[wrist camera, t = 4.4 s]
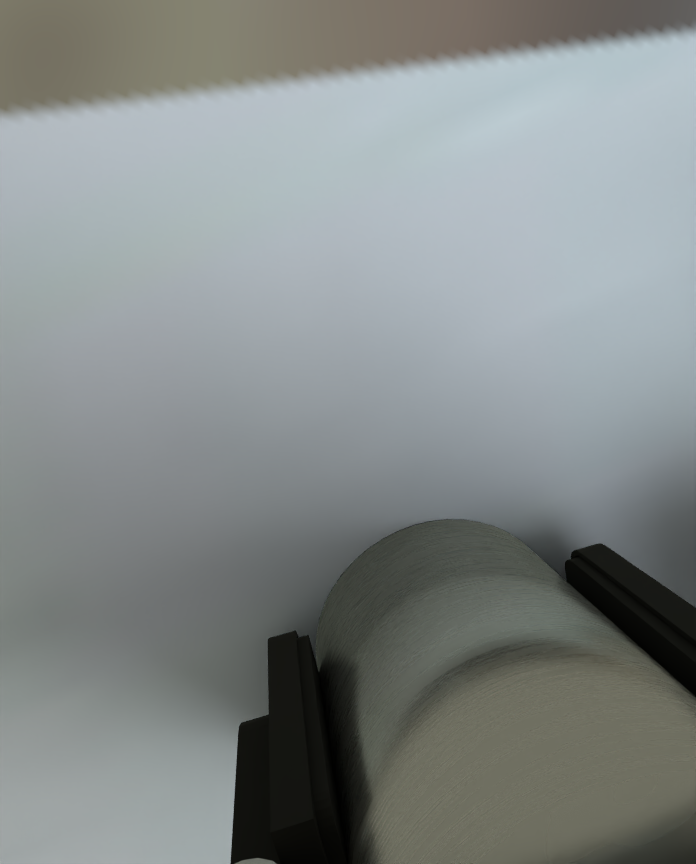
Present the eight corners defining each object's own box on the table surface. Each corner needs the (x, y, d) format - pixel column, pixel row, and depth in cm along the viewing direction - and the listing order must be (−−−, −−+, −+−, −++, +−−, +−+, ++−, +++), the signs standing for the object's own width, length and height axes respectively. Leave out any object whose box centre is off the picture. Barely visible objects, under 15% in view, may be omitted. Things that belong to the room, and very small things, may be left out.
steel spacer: (474, 775, 12) (669, 1204, 6) (268, 694, 11) (274, 1136, 5) (603, 583, 11) (950, 862, 6) (401, 474, 10) (579, 689, 4)
